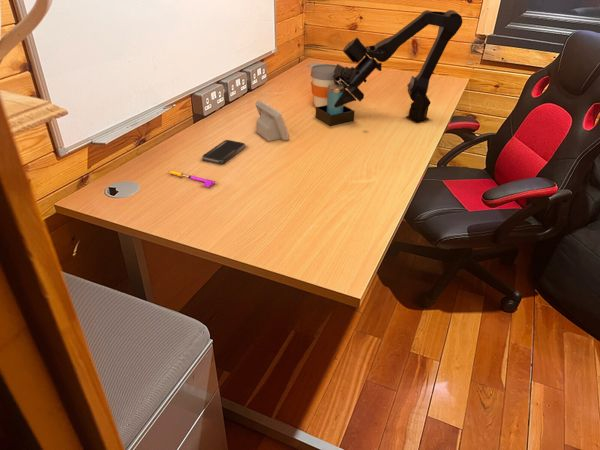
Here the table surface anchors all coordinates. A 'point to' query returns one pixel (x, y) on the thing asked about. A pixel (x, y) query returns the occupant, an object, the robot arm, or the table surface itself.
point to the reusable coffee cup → (321, 82)
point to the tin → (334, 98)
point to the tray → (334, 116)
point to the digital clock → (270, 123)
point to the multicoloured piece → (207, 181)
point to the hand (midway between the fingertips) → (331, 103)
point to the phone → (223, 151)
